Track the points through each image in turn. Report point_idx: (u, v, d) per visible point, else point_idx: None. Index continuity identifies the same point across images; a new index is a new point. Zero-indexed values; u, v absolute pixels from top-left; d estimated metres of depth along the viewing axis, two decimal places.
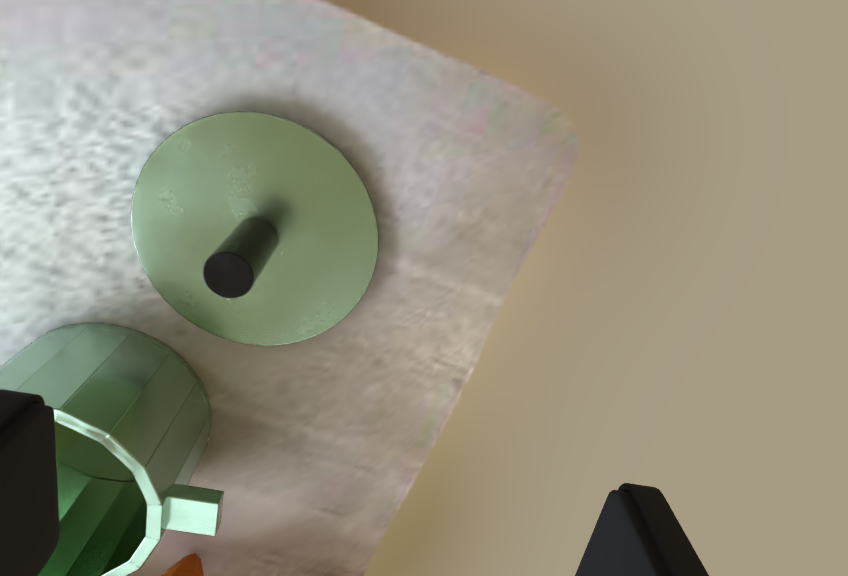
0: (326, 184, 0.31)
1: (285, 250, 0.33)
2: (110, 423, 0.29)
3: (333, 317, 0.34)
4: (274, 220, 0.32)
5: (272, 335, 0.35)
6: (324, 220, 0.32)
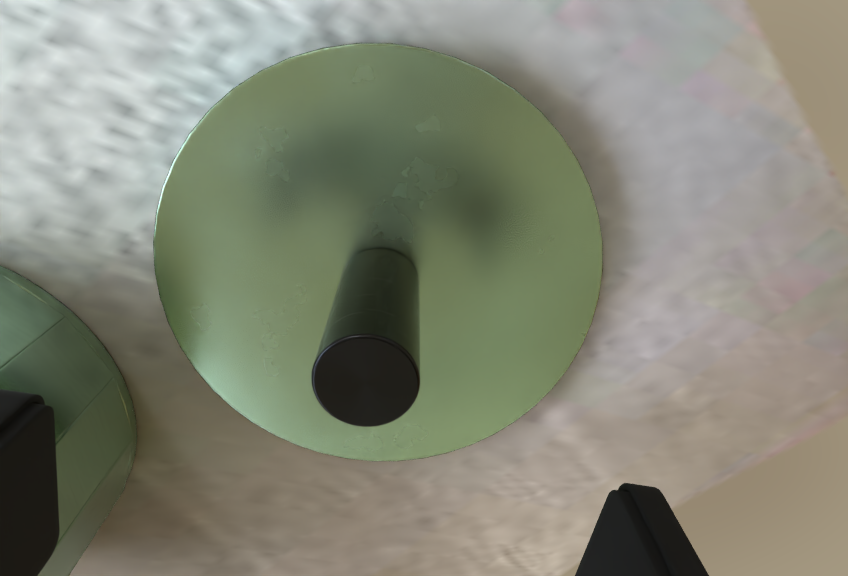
0: (547, 263, 0.18)
1: None
2: None
3: (416, 449, 0.20)
4: (429, 273, 0.18)
5: (305, 431, 0.20)
6: (505, 312, 0.18)
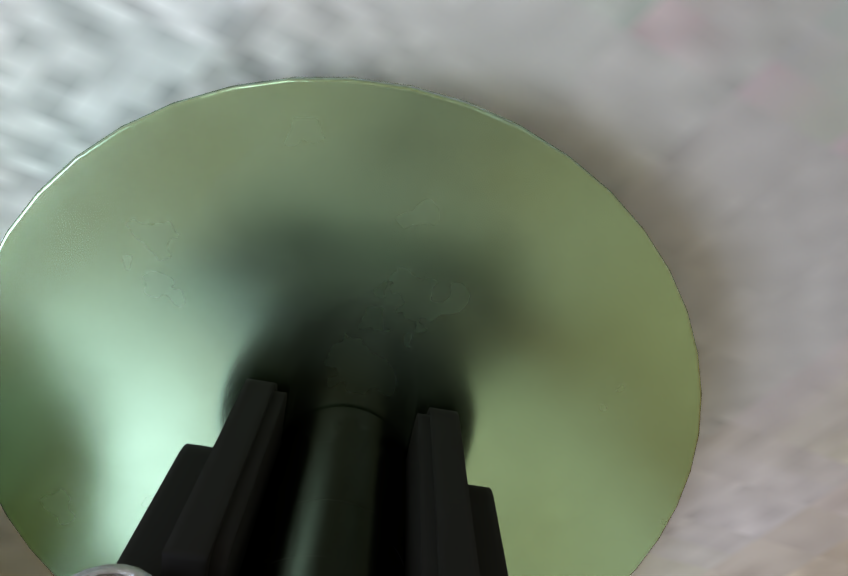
0: (612, 424, 0.11)
1: None
2: None
3: None
4: None
5: None
6: (542, 494, 0.11)
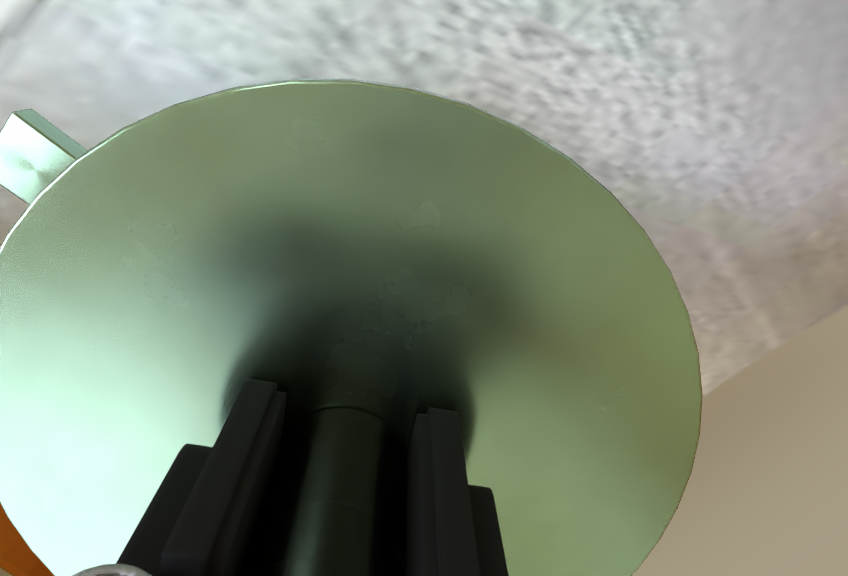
0: (612, 426, 0.11)
1: None
2: None
3: None
4: None
5: None
6: (543, 495, 0.11)
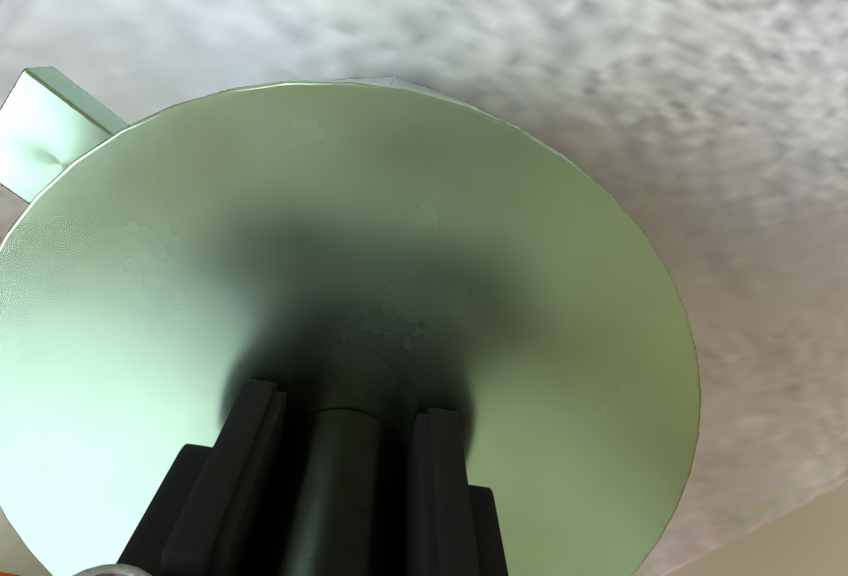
0: (611, 426, 0.11)
1: None
2: None
3: None
4: None
5: None
6: (542, 496, 0.11)
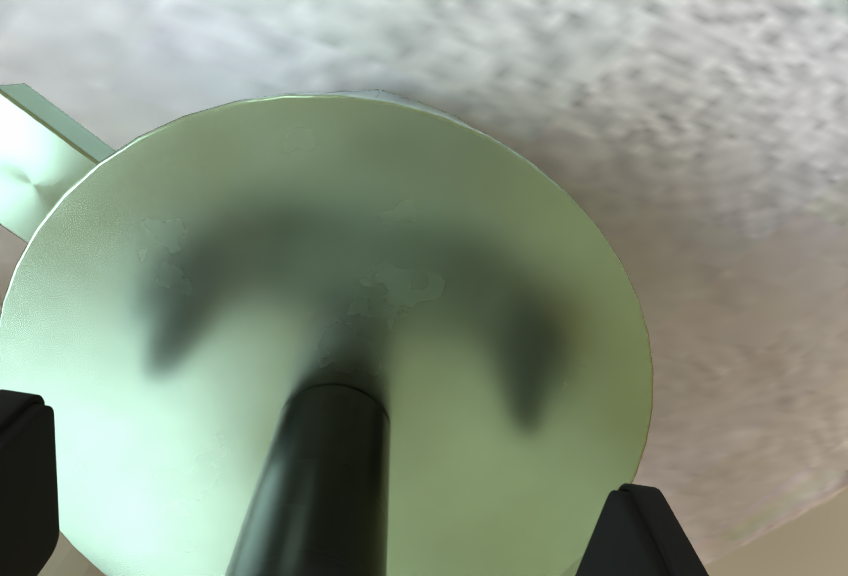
0: (574, 400, 0.12)
1: None
2: None
3: None
4: (404, 416, 0.12)
5: None
6: (514, 465, 0.13)
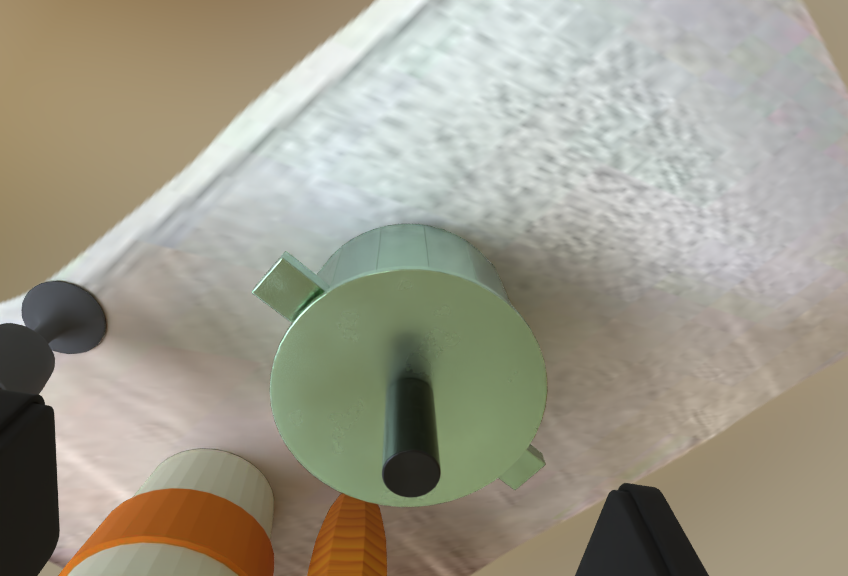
0: (513, 387, 0.28)
1: None
2: None
3: (429, 499, 0.31)
4: (440, 392, 0.28)
5: (357, 487, 0.30)
6: (487, 415, 0.29)
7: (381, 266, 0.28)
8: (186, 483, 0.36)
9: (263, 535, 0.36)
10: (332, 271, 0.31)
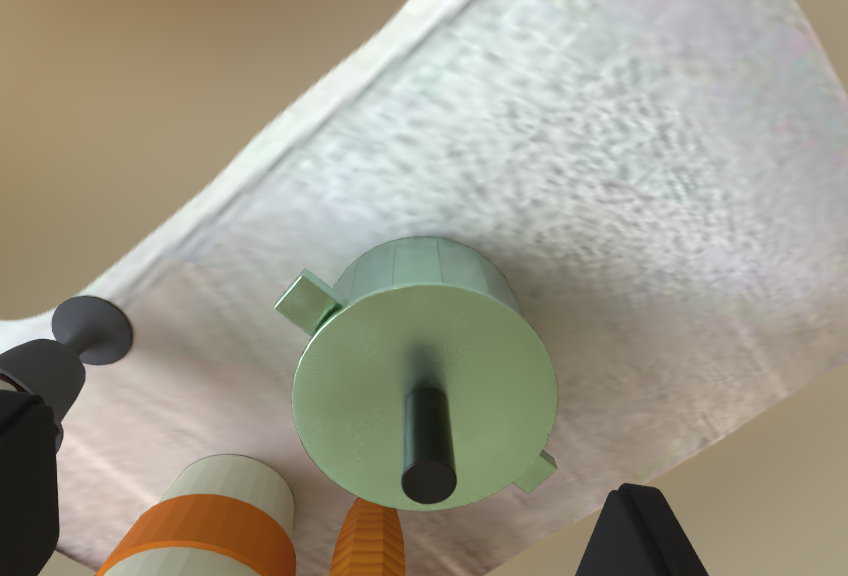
0: (525, 395, 0.29)
1: None
2: None
3: (445, 503, 0.32)
4: (455, 401, 0.29)
5: (376, 493, 0.32)
6: (500, 423, 0.30)
7: (397, 281, 0.29)
8: (211, 489, 0.37)
9: (285, 538, 0.37)
10: (349, 285, 0.32)
